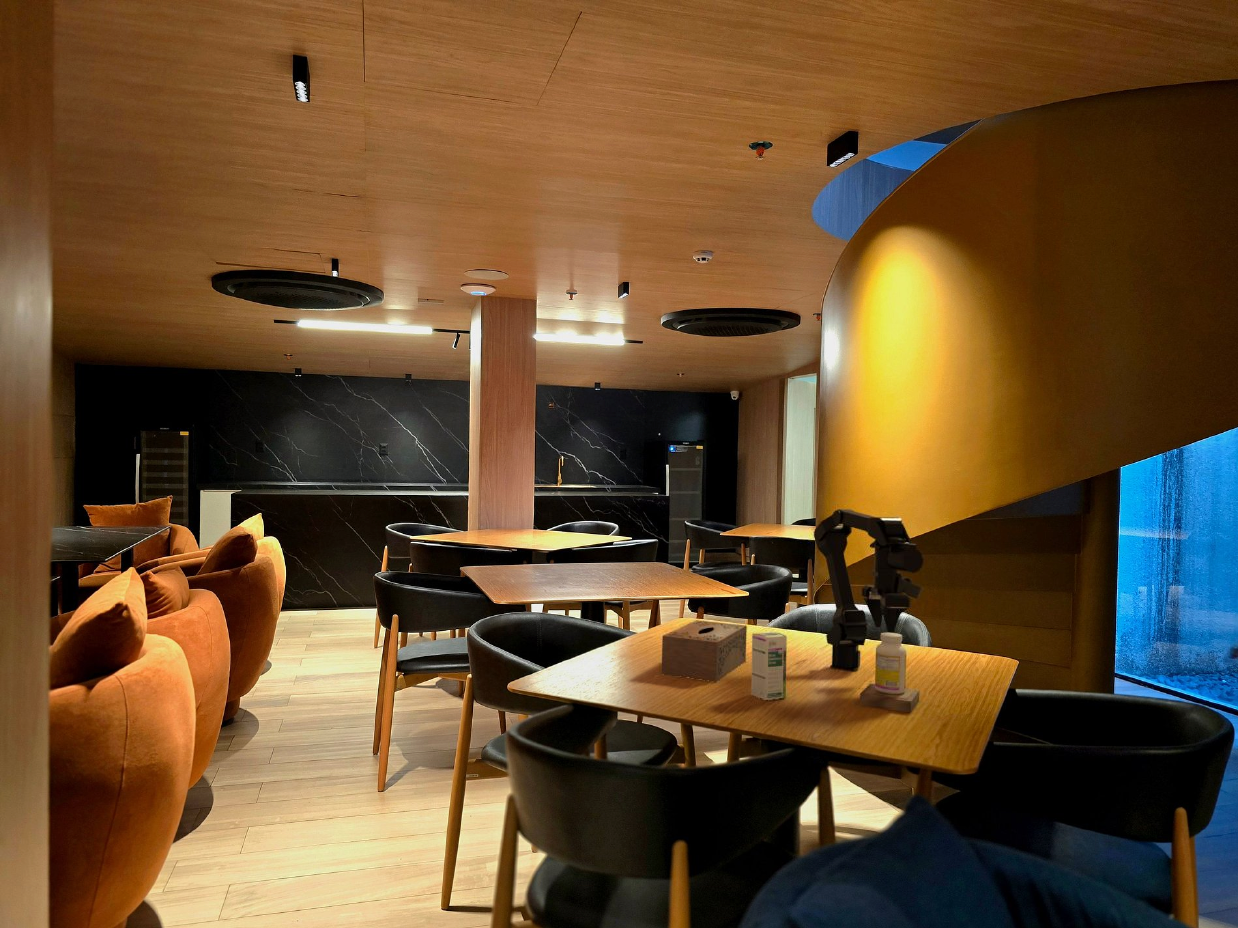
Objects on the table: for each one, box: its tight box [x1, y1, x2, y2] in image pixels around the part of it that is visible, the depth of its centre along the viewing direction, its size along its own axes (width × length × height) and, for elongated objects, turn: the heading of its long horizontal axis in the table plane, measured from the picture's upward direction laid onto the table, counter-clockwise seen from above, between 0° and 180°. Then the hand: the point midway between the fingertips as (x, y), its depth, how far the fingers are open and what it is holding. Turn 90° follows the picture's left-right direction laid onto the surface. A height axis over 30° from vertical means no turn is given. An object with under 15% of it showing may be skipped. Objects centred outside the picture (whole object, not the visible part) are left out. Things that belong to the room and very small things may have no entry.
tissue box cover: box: [660, 619, 748, 683], centre depth 221 cm, size 26×14×10 cm, turn 156°
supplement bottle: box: [874, 632, 907, 694], centre depth 192 cm, size 7×7×13 cm
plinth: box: [859, 682, 920, 714], centre depth 192 cm, size 11×11×3 cm
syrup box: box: [750, 631, 788, 701], centre depth 194 cm, size 6×6×14 cm
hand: (884, 630), depth 210 cm, fingers open, 9 cm apart
